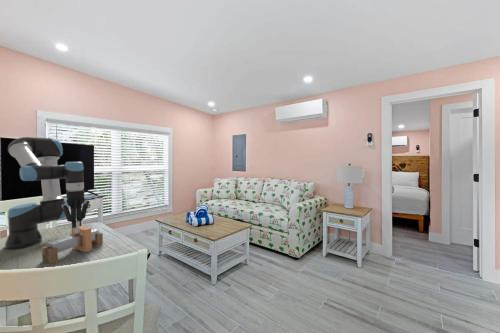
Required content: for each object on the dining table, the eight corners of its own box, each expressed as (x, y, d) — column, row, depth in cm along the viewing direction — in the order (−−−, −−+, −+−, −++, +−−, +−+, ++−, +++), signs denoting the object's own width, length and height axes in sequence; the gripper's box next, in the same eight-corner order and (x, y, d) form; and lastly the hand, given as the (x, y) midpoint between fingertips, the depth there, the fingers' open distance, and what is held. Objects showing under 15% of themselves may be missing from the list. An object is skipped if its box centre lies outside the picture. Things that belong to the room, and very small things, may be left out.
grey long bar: (47, 252, 107) (46, 242, 107) (93, 237, 128) (93, 229, 127) (52, 254, 105) (52, 244, 105) (98, 238, 126) (98, 230, 125)
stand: (42, 261, 106) (41, 247, 106) (95, 242, 130) (94, 231, 129) (50, 264, 104) (50, 250, 103) (102, 244, 127) (102, 232, 127)
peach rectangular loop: (72, 248, 121) (71, 227, 120) (78, 246, 123) (77, 225, 123) (85, 251, 116) (85, 230, 115) (91, 249, 119) (91, 228, 118)
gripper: (65, 192, 108) (67, 238, 110) (92, 188, 120) (93, 230, 122) (56, 191, 111) (58, 235, 113) (84, 188, 123) (85, 228, 125)
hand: (76, 232), depth 117 cm, fingers closed
